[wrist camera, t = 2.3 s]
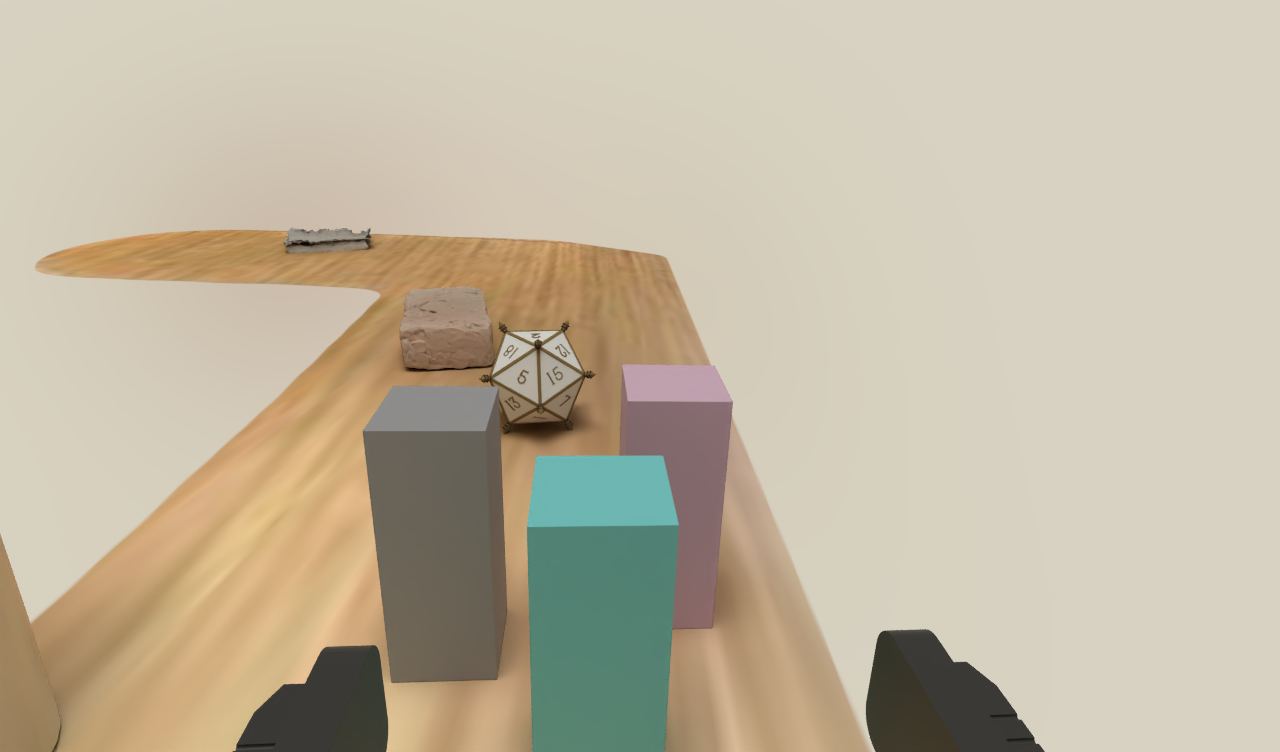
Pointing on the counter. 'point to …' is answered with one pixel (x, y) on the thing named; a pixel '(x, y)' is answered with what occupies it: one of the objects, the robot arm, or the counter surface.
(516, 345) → the game die
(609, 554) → the teal block
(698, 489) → the plum block
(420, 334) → the brick
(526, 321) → the counter surface
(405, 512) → the charcoal block
